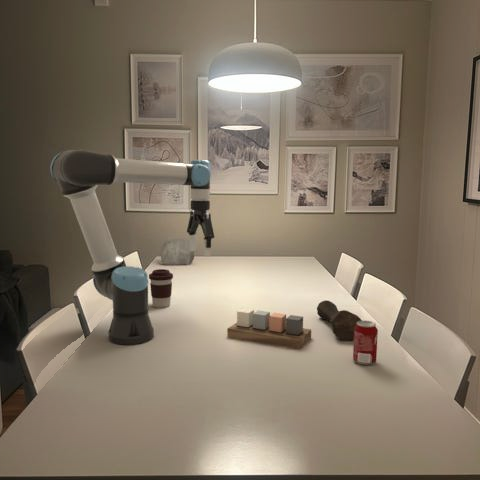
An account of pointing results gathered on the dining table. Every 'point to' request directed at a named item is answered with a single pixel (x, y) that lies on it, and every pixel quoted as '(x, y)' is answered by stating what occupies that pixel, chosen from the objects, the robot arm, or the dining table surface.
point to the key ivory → (245, 317)
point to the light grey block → (261, 319)
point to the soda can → (365, 343)
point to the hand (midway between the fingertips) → (199, 253)
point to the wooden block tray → (269, 336)
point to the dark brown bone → (339, 320)
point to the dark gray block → (294, 324)
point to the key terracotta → (277, 322)
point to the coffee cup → (161, 287)
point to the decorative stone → (176, 252)
